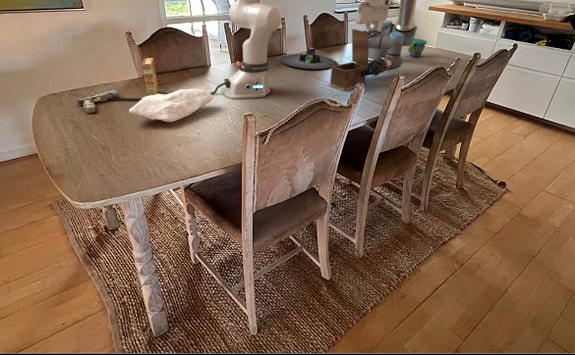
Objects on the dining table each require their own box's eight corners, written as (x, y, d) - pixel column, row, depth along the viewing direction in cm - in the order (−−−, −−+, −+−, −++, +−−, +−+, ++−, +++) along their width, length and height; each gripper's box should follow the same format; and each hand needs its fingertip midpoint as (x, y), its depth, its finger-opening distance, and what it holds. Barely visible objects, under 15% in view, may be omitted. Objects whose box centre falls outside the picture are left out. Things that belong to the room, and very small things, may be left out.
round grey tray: (348, 64, 220) (349, 48, 215) (302, 72, 202) (302, 55, 198) (313, 55, 244) (313, 41, 240) (269, 61, 227) (268, 46, 222)
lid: (367, 33, 173) (378, 28, 177) (352, 29, 180) (363, 24, 183) (366, 65, 184) (377, 60, 187) (352, 61, 190) (362, 56, 194)
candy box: (157, 97, 164) (152, 63, 155) (147, 98, 163) (141, 63, 155) (158, 91, 171) (153, 57, 163) (149, 91, 170) (143, 58, 162)
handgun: (128, 97, 156) (111, 87, 164) (86, 107, 144) (70, 97, 152) (129, 103, 157) (113, 94, 165) (88, 114, 146) (72, 103, 154)
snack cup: (416, 52, 253) (419, 37, 248) (428, 56, 246) (432, 40, 240) (401, 55, 246) (404, 39, 240) (413, 59, 238) (416, 43, 233)
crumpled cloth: (117, 110, 146) (113, 90, 140) (195, 92, 166) (194, 73, 160) (143, 139, 134) (140, 118, 128) (223, 116, 154) (224, 96, 148)
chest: (343, 90, 181) (346, 71, 176) (329, 85, 187) (331, 66, 182) (364, 85, 190) (367, 66, 184) (350, 80, 196) (352, 61, 191)
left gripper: (364, 3, 166) (360, 35, 174) (392, 0, 177) (387, 30, 185) (354, 2, 170) (350, 33, 178) (381, -2, 181) (377, 28, 189)
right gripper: (396, 77, 194) (369, 84, 182) (364, 67, 208) (336, 73, 196) (399, 63, 190) (371, 69, 177) (366, 53, 204) (338, 59, 192)
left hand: (369, 31), depth 181 cm, fingers closed, pressing on lid
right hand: (353, 71), depth 187 cm, fingers closed on chest, 10 cm apart
